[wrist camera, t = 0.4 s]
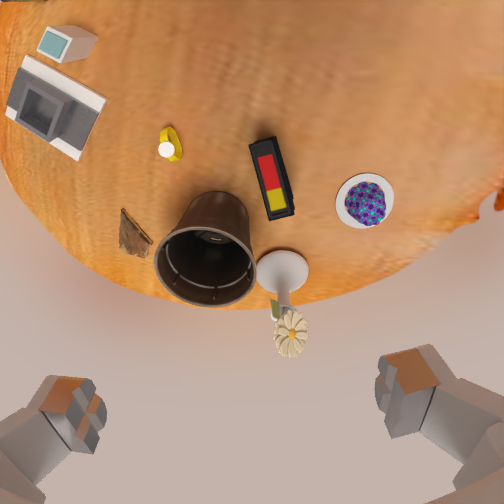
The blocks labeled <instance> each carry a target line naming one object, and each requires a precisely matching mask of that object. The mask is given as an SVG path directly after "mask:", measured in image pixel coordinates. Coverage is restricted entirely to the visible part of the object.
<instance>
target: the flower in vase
mask: <svg viewBox="0 0 504 504" xmlns="http://www.w3.org/2000/svg"><path fill="white" fill-rule="evenodd" d="M256 266H257V278H256V279H257V281H258V283H259V284H260V285H261V286H262V287H263V288H264V289H265V290H267V291H270V292H273V293H277V294H278V300H277V301H275V300H273V299H270V301H271V306H272V312H271V318H272V319H273V320H274V321H275V327H276V328H275V329H274V333H275V335H274V336H273V339H274V341H275V343H276V348H279V353H280V354H282V356H285V357H286V356H287V354H288V355H289V357H292V356H293V357H294V358H296V357H297V354H298V352H299V353H302V352H303V348H305V340H304V339H307V338H308V334H307V333H306V332H307V325H306V319H302V313H298V311H297V310H296V309H295V308H294V307H293V306H292V305H291V302H290V299H289V293H290V292H293V291H295V290H297V289H299V288H300V287H301V286H302V285H303V284H304V283H305V281H306V279H307V277H308V274H309V267H308V264H307V262H306V261H305V259H304V258H303V257H301V256H300V255H299V254H297V253H294V252H291V251H287V250H279V251H274V252H271V253H269V254H267V255H265V256H264V257H262V258H261V259H260V260H259V262H258V263H257V265H256Z"/></svg>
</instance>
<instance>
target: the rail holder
mask: <svg viewBox="0 0 504 504" xmlns="http://www.w3.org/2000/svg"><path fill="white" fill-rule="evenodd" d="M107 101H108V98H106V97H104V96H102V95H101V94H99V93H97V92H96V91H94V90H92V89H90V88H89V87H87V86H85V85H83V84H82V83H80V82H78V81H76V80H75V79H73V78H71V77H69V76H67V75H66V74H64V73H62V72H60V71H58V70H57V69H55V68H53V67H51V66H49V65H47V64H46V63H44V62H42V61H40V60H38V59H36V58H34V57H33V56H31V55H26V56H25V58H24V61H23V63H22V66H21V67H20V68H18V71H17V73H16V76H15V79H14V82H13V85H12V88H11V91H10V94H9V97H8V100H7V104H6V105H8V107H7V111H6V114H5V115H6V116H8V117H9V118H11V119H12V120H14V121H16V122H17V123H19V124H20V125H22V126H23V127H25V128H26V129H28V130H29V131H31V132H33V133H34V134H36V135H37V136H39V137H40V138H42V139H44V140H45V141H47V142H48V143H50V144H51V145H53V146H54V147H56V148H58V149H59V150H61V151H62V152H64V153H65V154H67V155H69V156H70V157H72V158H73V159H75V160H77V161H79V160H80V159H81V156H82V154H83V151H84V149H85V147H86V144H87V142H88V140H89V138H90V136H91V133H92V131H93V129H94V127H95V125H96V123H97V121H98V118H99V116H100V114H101V112H102V110H103V108H104V106H105V104H106V102H107Z"/></svg>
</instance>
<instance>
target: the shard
mask: <svg viewBox="0 0 504 504" xmlns="http://www.w3.org/2000/svg"><path fill="white" fill-rule="evenodd" d="M119 244H120V250H121V251H123V252H125V253H127V254H131V255H134V256H138V257H141V258H147V252H148V249H149V247H150V245H152V244H153V241H152V240H151V239H149V238H148V237H147V236H146V234H145V233H143V231H142V230H141V228H140V227H139V226H138V224H137V223H136V222H135V221H134V219H133V218H132V217H131V216H130V215H129V214H128V213H127V212H126V211H125V210H124V209H121V223H120V233H119Z"/></svg>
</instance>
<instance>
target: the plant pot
mask: <svg viewBox="0 0 504 504" xmlns="http://www.w3.org/2000/svg"><path fill="white" fill-rule="evenodd" d="M210 238H214V239H222V241H215V240H211V239H210ZM154 267H155V271H156V274H157V276H158V278H159V280H160V282H161V283H162V284H163V286H164V287H165V288H166V289H167V290H168V291H169V292H170V293H171V294H173V295H174V296H175V297H177V298H179V299H180V300H182V301H185V302H187V303H189V304H193V305H196V306H201V307H210V308H215V307H224V306H228V305H231V304H234V303H236V302H238V301H240V300H241V299H243V298H244V297H245V296H247V295H248V294H249V293H250V291H251V290H252V289H253V287H254V285H255V282H256V278H257V266H256V262H255V259H254V256H253V252H252V248H251V245H250V233H249V216H248V213H247V210H246V208H245V207H244V206H243V205H242V203H241V202H240V201H239V200H238V199H237V198H236V197H234V196H232V195H230V194H228V193H224V192H207V193H204V194H202V195H200V196H199V197H197V198H196V199H195V200H193V201H192V203H191V204H190V206H189V208H188V209H187V211H186V212H185V214H184V215H183V217H182V218H181V220H180V222H179V223H178V225H177V226H176V227H175V228H174V229H173V230H172V231H171V232H170V234H168V235H167V236H166V237H165V238H164V239H163V240H162V241H161V242H160V244H159V245H158V247H157V249H156V252H155V256H154Z"/></svg>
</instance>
